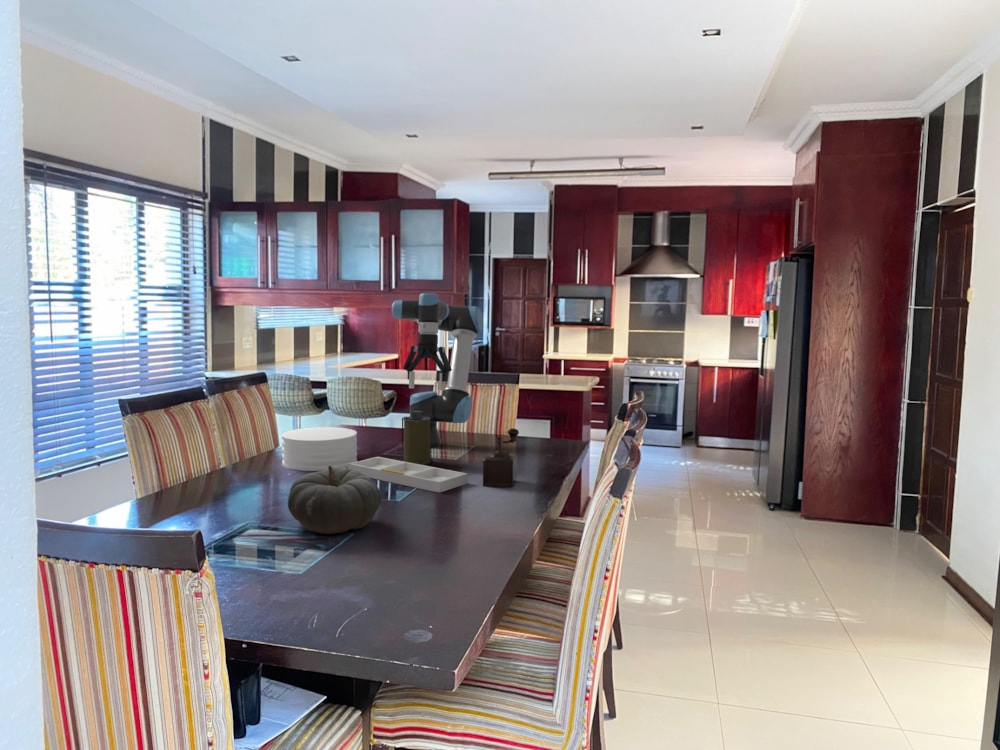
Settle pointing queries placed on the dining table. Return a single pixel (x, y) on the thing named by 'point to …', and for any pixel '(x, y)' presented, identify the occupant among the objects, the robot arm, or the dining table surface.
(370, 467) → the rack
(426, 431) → the canister
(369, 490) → the gourd
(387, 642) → the dining table surface
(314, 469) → the plate stack
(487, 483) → the pepper mill
